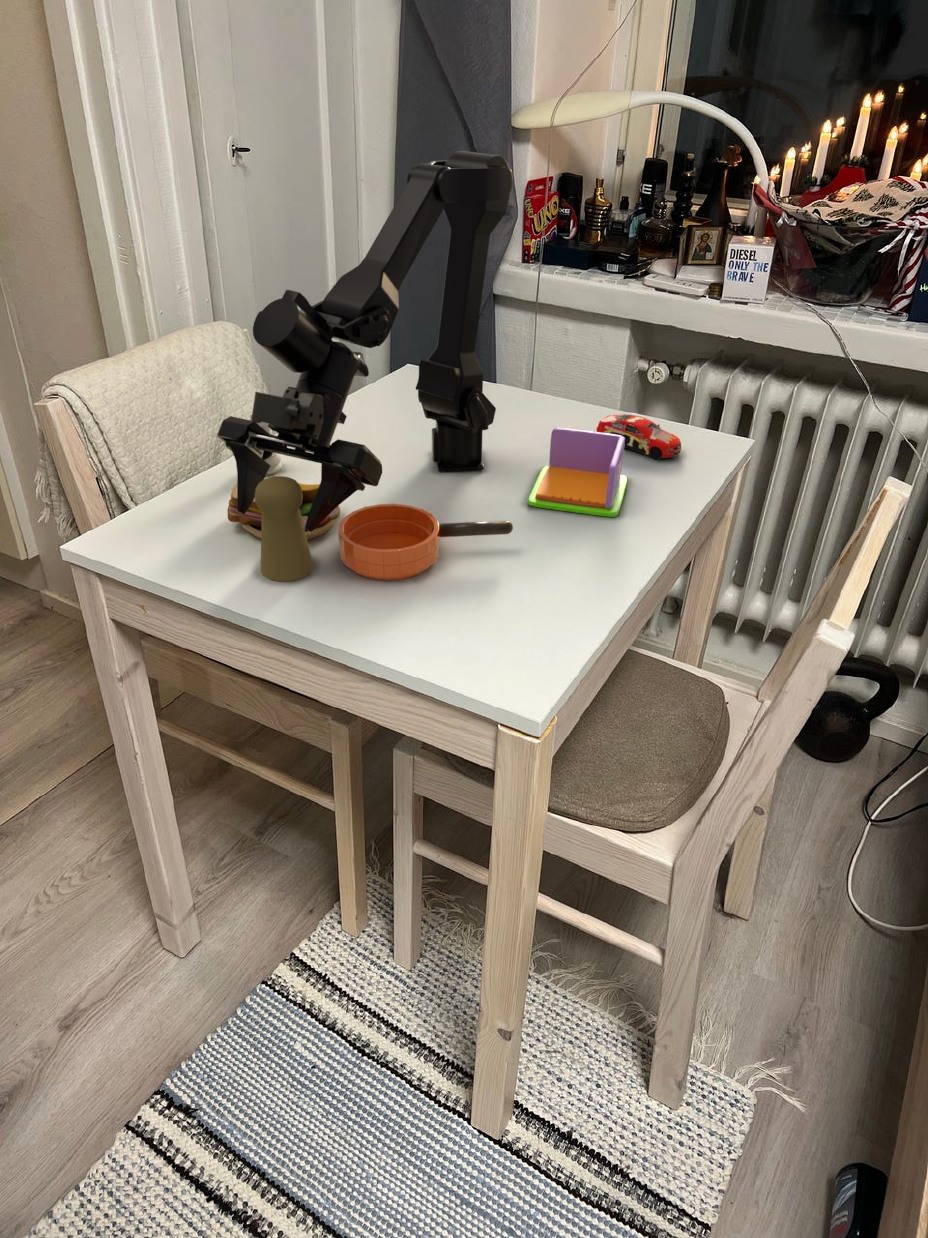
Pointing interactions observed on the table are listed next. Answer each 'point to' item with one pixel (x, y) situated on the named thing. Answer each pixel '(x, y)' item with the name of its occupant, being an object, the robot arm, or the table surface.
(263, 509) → the cork
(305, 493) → the toy sandwich meal
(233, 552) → the table surface
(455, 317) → the robot arm
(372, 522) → the pan
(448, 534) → the pan handle
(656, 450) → the race car
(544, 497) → the toy room diorama
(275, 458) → the rook chess piece
